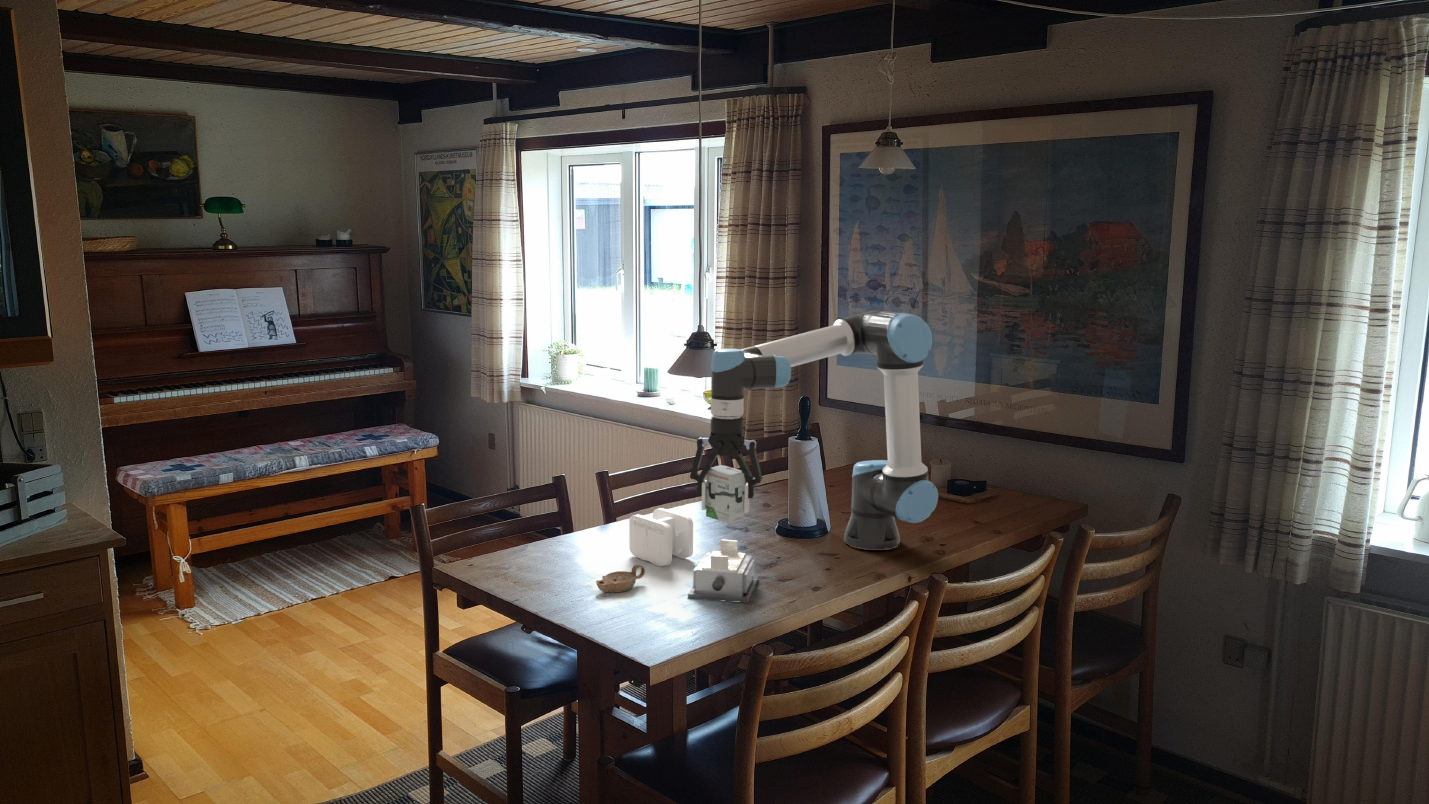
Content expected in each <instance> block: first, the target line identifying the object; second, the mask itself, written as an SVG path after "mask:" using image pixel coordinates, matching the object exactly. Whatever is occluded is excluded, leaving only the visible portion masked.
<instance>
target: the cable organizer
mask: <svg viewBox="0 0 1429 804" xmlns="http://www.w3.org/2000/svg"><path fill="white" fill-rule="evenodd" d="M628 526H629V532H628V533H629V538H628V539H629V542H628V543H629V552H630V553H631V554H632V555H633V556H634V557H636V558H637V559H639V558H640V559H639V560H642V561H648V562H650V563H652V564H653V565H655V566H659V567H665V566H669V565H670V564H672V562H673V555H674V556H675V557H677V558H678V559H679V558H680V559H681V560H685V559H687V558H691V557H692V556H693V553H694V521H693V518H691V517H690V516H689V515H687V514H684V513H683V514H682V513H680V512H677V511H674V510H670V509H667V508H663V507H659V508H656V509H654V510H653V512H652V517H648V516H645V515H642V514H638V513H637V514H634V515H631V516H630V517H629V525H628Z"/></svg>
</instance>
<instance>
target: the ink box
mask: <svg viewBox="0 0 1429 804" xmlns="http://www.w3.org/2000/svg"><path fill="white" fill-rule="evenodd" d="M706 480H707V497H706V509H705V516H706V518H710V519H715V520H717V521H720V522H723V523H727V524H730V525H731V524H735V523H739V522H742V521H745V520H746V519H745V518H746V517H745V514H746V513H744V497H745V484H746V479H745V477H744V473H742V471H741V469H737V468H734V467H730V466H727V465H722V464H721V465H716V466H711V468H710V469H709V470H708V472H707V475H706Z"/></svg>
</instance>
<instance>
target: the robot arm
mask: <svg viewBox="0 0 1429 804" xmlns="http://www.w3.org/2000/svg"><path fill="white" fill-rule="evenodd" d="M932 334H933V333H932V331H931V328H930V326H929V325H928V324H927V322H926V321H925V320H924V319H923V318H922V317H920V316H918V315H915V314H912V313H907V312H900V311H899V312H897V311H886V310H879V309H877V310H872V311H871V310H870V311H866V312H865V311H864V312H861V313H858V314H854V315H851V316H847V317H845V318H841V319H837V320H835V321H834V322H833V325H829V326H826V327H821V328H819V329H813V330H809V331H807V332H803V333H799V334H795V335H791V336H788V337H783V338H780V339H776V340H773V341H767V342H765V343H760V344H757V345H753V346H748V347H745V348H741V349H738V348H719V349H718V348H717V349H716V350H713V352H712V354H711V356H712V357H711V364H710V365H711V366H710V371H711V381H710V382H711V386H710V387H711V388H710V389H711V391H710V392H711V395H710V413H711V415H712V416H711V417H710V435H709V437H703V436H700V437H699V438H698V439H697V440H696V447H697V449H696V452H695V456H694V459H693V460H694V461H693V464H692V467H691V470H690V475H689V478H690V479H691V480H695V481H696V482H697V494H698V496H701V511H706V497H707V479H705V477H707V472H708V470H709V469H710V468H712V467H713V464H714V462H715V460H716V459H717V458H718V456H719V457H724V456H728V457H733V458H734V460H735V461H736V463H737V464H738V467H739V468H740V469H739V470H741V471H742V473H744V477H745V497H744V513H745V514H748V513H749V511H750V499H753V498H754V496H755V485H756V484H760V483H761V482H762V481H763V476H762V471H761V467H760V461H759V458H758V455H757V454H758V453H757V450H756V448H757V441H756V440H755V439H752V440H750V439H749V440H748V439H745V437H744V418H743V415H744V409H745V408H744V403H745V402H744V401H745V400H744V393H745V390H758V389H776V388H777V389H778V388H782V387H785V386H786V387H787V385H788V384H789V383H790V381H791V378H792V368H793V367H796V366H800V365H803V364H808V363H810V362H811V363H812V362H814V361H815V362H816V361H817V360H818V361H819V360H821V359H825V358H830V357H833V356H836V355H842V356H844V357H848V356H851V355H856V354H861V355H862V354H863V355H864V354H865V355H866V354H867V355H872V356H875V357H876V368H877V370H879V371H880V372H881V373H882V374H883V390H884V391H883V392H884V395H883V396H884V406H885V407H884V411H885V432H886V433H885V435H886V450H887V451H886V453H887V460H885V459H876V460H875V459H873V460H872V459H871V460H862V461H858V462H856V463H855V464H853V468H852V475H851V477H852V480H851V481H852V483H851V485H852V486H851V512H850V513H851V515H850V517H849V520H848V523H847V525H846V527H845V530H844V535H843V542H844V541H845V542H846V543H848V544H850V545H852V546H856V547H860V548H867V549H884V548H892V547H894V546H897V545H898V544H899V543H901V542H900V541H901V540H900V539H901V536H900V534H899V530H898V526H897V523H896V519H895V518H897V519H898V520H900V521H902V522H908V523H911V524H917V523H921V522H923V521H925V520H926V519H927V518H929V517H930V516H931V514H932V513H933V512H934V511H935V509H936V507H937V504H938V502H939V501H938V500H939V493H938V492H939V491H938V488H937V487H936V485H935V484H934V483H933V482H932V481H930V480H929V469H928V466H926V464H924V463H923V461H922V445H921V444H922V443H921V442H922V441H921V419H920V396H919V393H920V392H919V371H920V370H921V369H922V368H923V367H924V365H925V364H924V360H925V359H926V358H927V356H929V352H930V351H931V349H932V345H933V335H932ZM708 444H709V445H710V447H711V448H712V450H713V451H712V453H711V454H710V455H709V458H708V460H706V463H705V464H704V466H703V468H702V470H701V472H700V473H698V472H699V469H700V466H701V462H702V458H703V455H704V451H705V448H706V447H707V445H708ZM743 446H745V447H746V450H748V454H749V459H750V462H751V466H752V471H753V474H752V472H751V470H750V467H748V465H747V462H746V461H745V458H744V456H743V453H742V451H741V449H742V448H743ZM899 545H900V544H899Z"/></svg>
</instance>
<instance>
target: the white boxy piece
mask: <svg viewBox="0 0 1429 804" xmlns="http://www.w3.org/2000/svg"><path fill="white" fill-rule="evenodd" d="M738 546H739V545H738V540H737V539H735V540H734V539H723V538H721V539H720V550H712V552H709V551H708V552H706V554H705V555H702V557H701V558H700V559H699V561H698V563H697V565H696V566H695V568H694V569H693V571H692V573H693V574H692V577H693V578H692V579H693V580H692V581H693V582H692V585H693V586H692V587H691V588H690V590H689V592H688V593H687V599H693V600H703V599H707V600H706V601H715V600H725V601H724V602H727V601H740V602H748V603H749V601H750V599H749V598H751V597H752V594H753V592H754V590H755V588H754V587H756V586H755V585H757V584H758V581H759V575H755V559H752V555H746V552H740V551H739V552H738ZM757 580H758V581H757ZM753 589H754V590H753ZM752 591H753V592H752ZM751 593H752V594H751ZM750 596H751V597H750ZM748 600H749V601H748Z"/></svg>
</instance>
